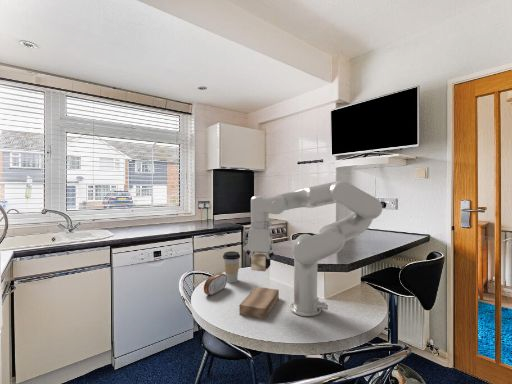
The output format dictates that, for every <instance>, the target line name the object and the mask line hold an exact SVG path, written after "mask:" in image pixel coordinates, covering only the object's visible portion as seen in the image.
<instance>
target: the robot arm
mask: <svg viewBox="0 0 512 384" xmlns="http://www.w3.org/2000/svg"><path fill="white" fill-rule="evenodd" d="M333 204H339V205H341V207H344V208H346V209H347V210H349V211H351V213H350V214H349V215H347V216H346V217H343V218H342V219H340V220H337V221H334V222H332V223H329V224H326V225H324V226H322V227H321V229H320V230H319V231H318V233H315V234H313V235H312V234H308V233H303V234H300V235H298V237H296V239H295V240H294V244H293V252H292V254H293V257H294V259H293V260H294V262H293V265H294V266H293V267H294V268H293V270H294V271H293V291H294V292H293V299H294V301H293V302H291V304H290V307H289V308H290V311H291V312H292V313H294V314H295V315H298V316H302V317H313V316H317V315H319V314H321V312H322V310H324V311H326V310H327V311H328V310H329V304H327V303H326V302H323V301H320V300H319V297H318V262H320V261H322V260H324V259H326V258H329V257H331V256H333V255H336V254H338V252H339V253H340V252H341V250H342V249H343V248H344V246H345V245H346V244H345V243H346V242H347V241H350V240H351V239H353V238H356V237H358V236H360V235H362V234H363V233H364V232H366V231H367V230H368V229H369V227H370V225H371V224H372V222H373V220H374V219H377V218H379V217H380V215H381V214H382V212H383V205H382V202H381V201H380V200H379V198H376V197H375V196H373V195H371V194H370V193H367V192H365V191H364V190H362V189H360V188H358V187H357V186H355V185H353V184H352V183H350V182H348V181H345V180H336V181H332V182H327V183H323V184H318V185H313V186H308V187H305V188H302V189H297V190H295V191H290V192H286V193H281V194H276V195H274V196H266V195H265V196H264V195H254V196H252V197H251V198H250V227H249V231H248V237H247V238H248V239H247V243H246V244H245V245H244V246H243V247H242V249H243V251H244V252H245V253H246V254H247V255H248V257H249V264H250V265H251V256H252V255H253V254H255V253H265V254H266V257H267V259H266V268H267V270H268V269H269V268H270V266H271V258H272V257H273V256H274V255H275V254H276V253H277V252H278V251H279V249H277V247H276V246H275V245H274V243H273V242H274V241H273V234H272V228H271V227H272V226H273V223H272V222H270V217H269V214H270V215H281V214H283V212H284V211H289V210H295V209H300V208H306V209H307V208H308V209H312V208H319V207H323V206H329V205H333ZM271 251H272V252H271Z"/></svg>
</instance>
